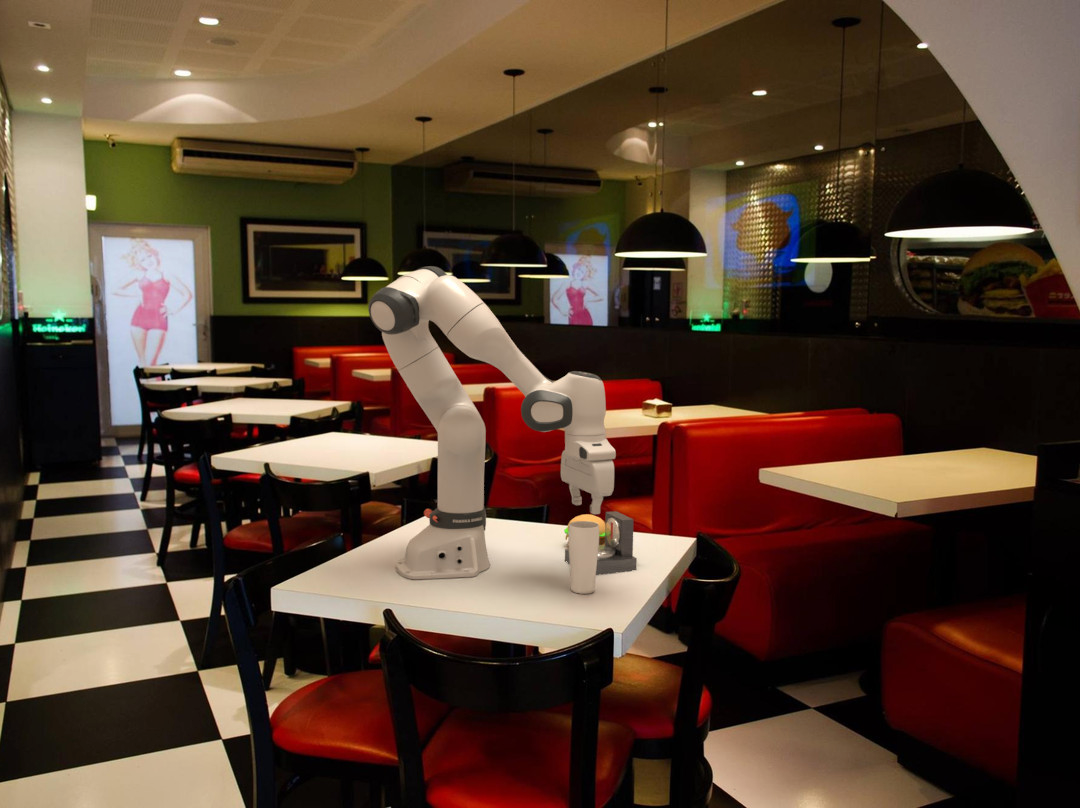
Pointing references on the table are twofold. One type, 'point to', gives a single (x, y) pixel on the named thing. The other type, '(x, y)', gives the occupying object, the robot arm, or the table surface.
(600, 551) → the dial scale
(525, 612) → the table surface
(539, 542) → the table surface
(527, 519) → the table surface
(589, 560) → the drinking glass
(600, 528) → the hamburger
